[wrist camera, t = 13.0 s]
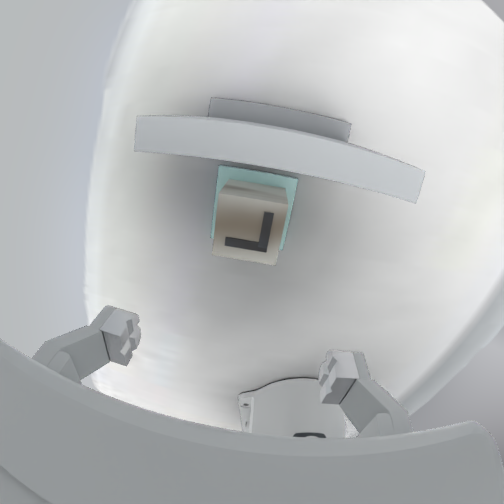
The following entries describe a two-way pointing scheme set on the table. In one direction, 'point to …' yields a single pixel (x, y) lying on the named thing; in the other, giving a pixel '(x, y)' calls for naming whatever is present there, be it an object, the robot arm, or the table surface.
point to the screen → (278, 145)
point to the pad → (259, 178)
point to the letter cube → (249, 221)
